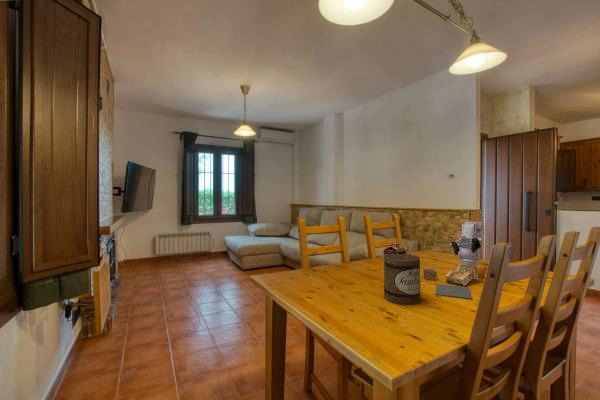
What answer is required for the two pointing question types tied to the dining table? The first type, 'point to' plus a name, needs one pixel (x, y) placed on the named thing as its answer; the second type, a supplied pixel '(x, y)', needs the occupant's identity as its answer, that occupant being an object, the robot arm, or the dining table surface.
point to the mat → (453, 291)
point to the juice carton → (391, 249)
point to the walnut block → (430, 274)
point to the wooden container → (402, 278)
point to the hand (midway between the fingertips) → (464, 252)
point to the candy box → (461, 274)
